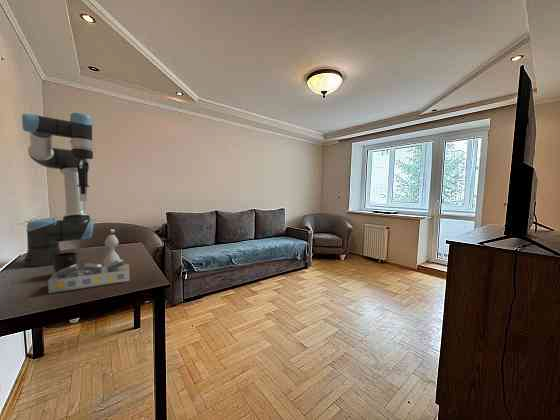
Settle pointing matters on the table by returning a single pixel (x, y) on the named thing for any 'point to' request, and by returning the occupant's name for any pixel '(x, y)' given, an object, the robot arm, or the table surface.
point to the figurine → (111, 249)
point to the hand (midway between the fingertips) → (83, 201)
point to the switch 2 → (92, 267)
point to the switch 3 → (115, 264)
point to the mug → (64, 260)
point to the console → (88, 278)
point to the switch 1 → (67, 270)
